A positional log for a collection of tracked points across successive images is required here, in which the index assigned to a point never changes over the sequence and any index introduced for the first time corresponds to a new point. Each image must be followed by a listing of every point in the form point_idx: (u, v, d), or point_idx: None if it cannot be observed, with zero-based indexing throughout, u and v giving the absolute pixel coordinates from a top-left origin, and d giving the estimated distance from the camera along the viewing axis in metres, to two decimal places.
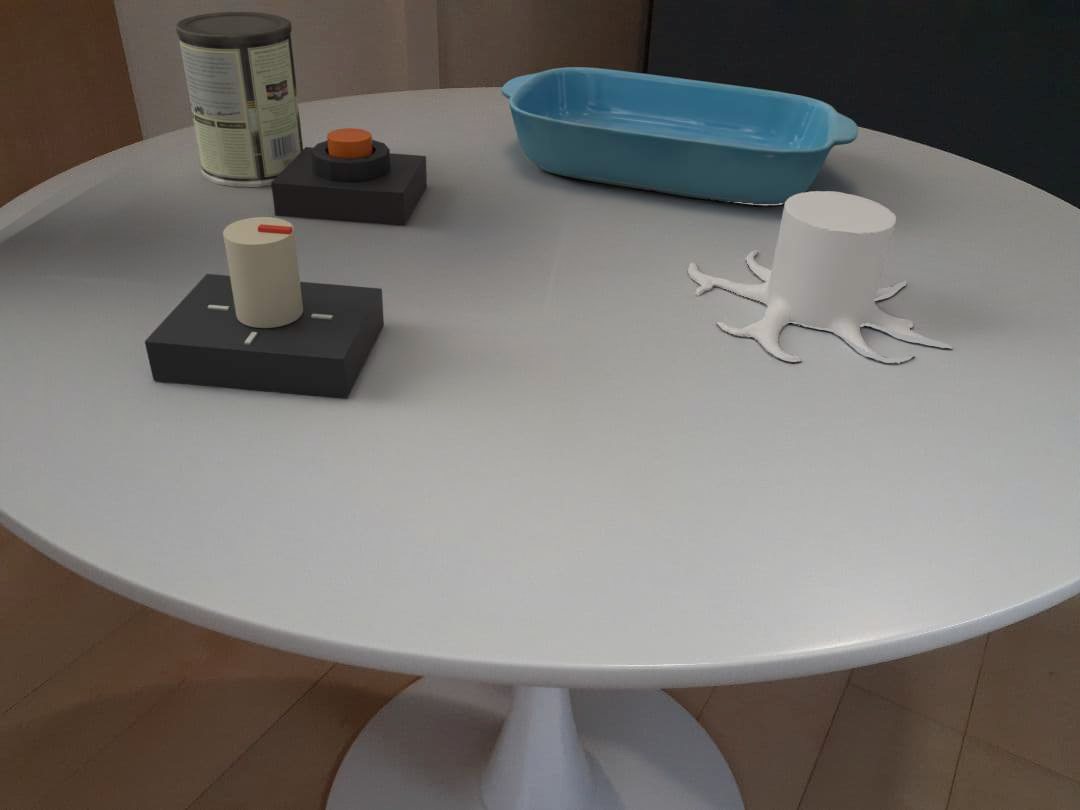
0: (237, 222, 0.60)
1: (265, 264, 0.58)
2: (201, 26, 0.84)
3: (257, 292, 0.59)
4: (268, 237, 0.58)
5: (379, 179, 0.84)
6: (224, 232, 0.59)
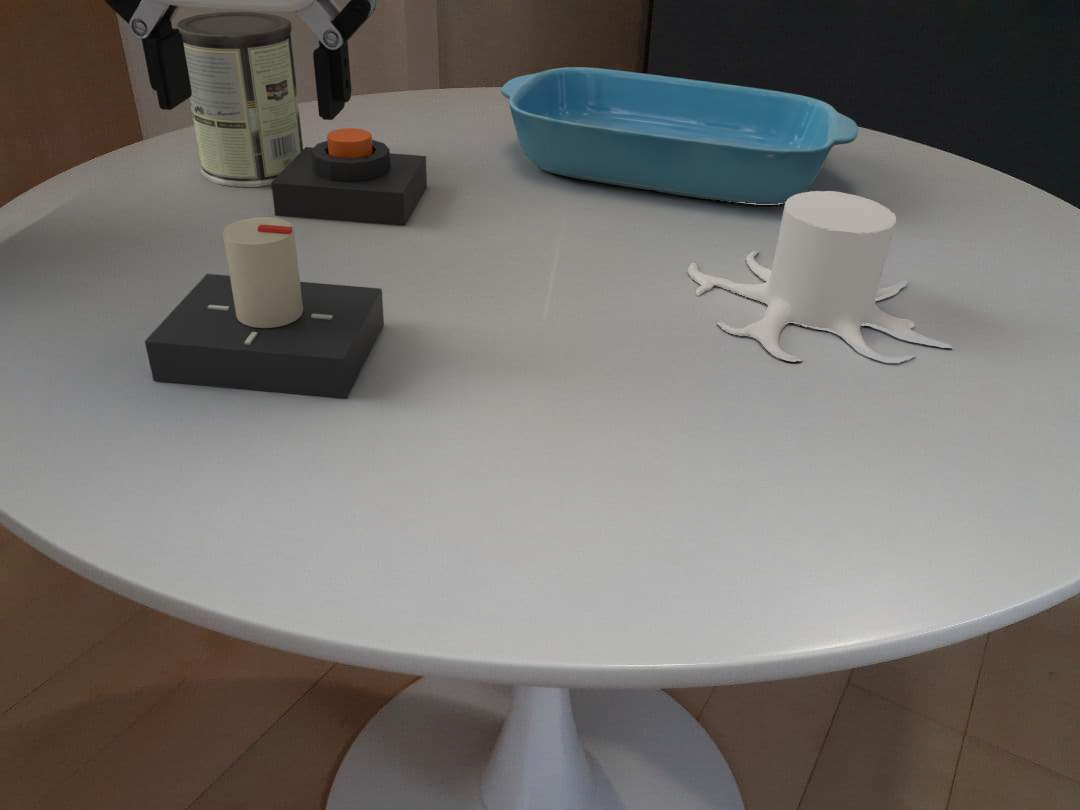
0: (237, 222, 0.60)
1: (265, 264, 0.58)
2: (201, 26, 0.85)
3: (257, 292, 0.59)
4: (268, 237, 0.58)
5: (379, 179, 0.84)
6: (224, 232, 0.59)
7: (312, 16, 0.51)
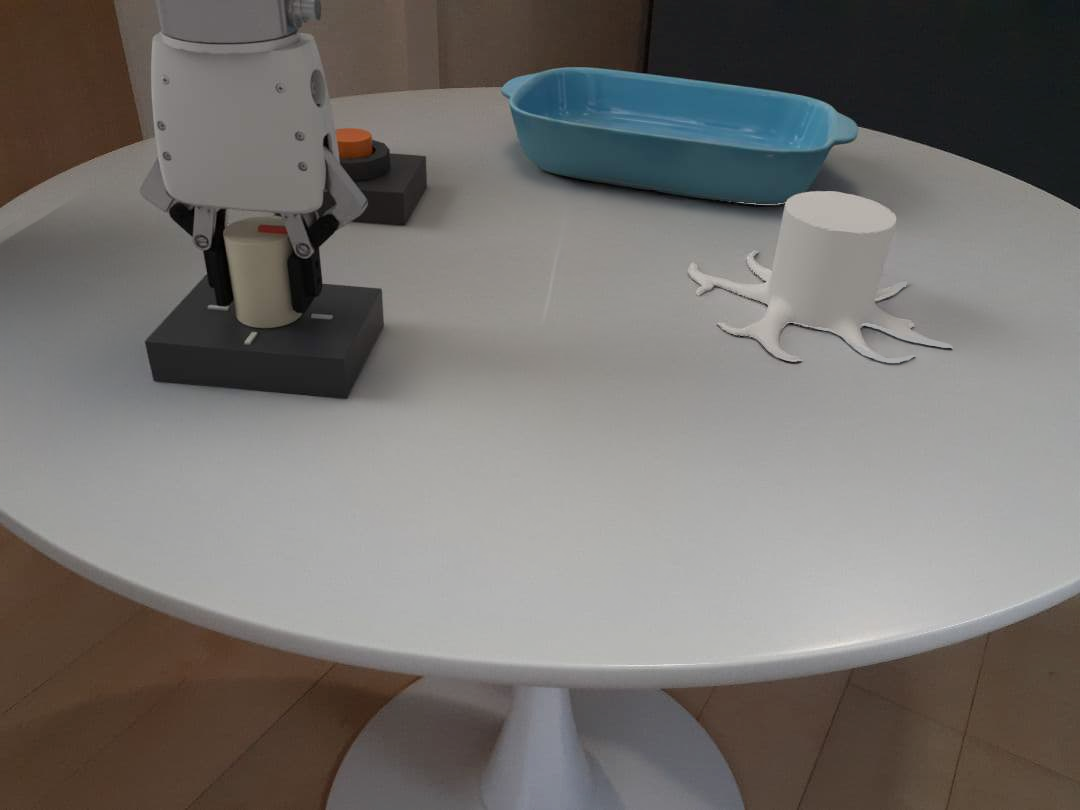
0: (237, 222, 0.60)
1: (265, 264, 0.58)
2: None
3: (257, 292, 0.59)
4: (268, 237, 0.58)
5: (379, 179, 0.84)
6: (224, 232, 0.59)
7: (295, 228, 0.57)
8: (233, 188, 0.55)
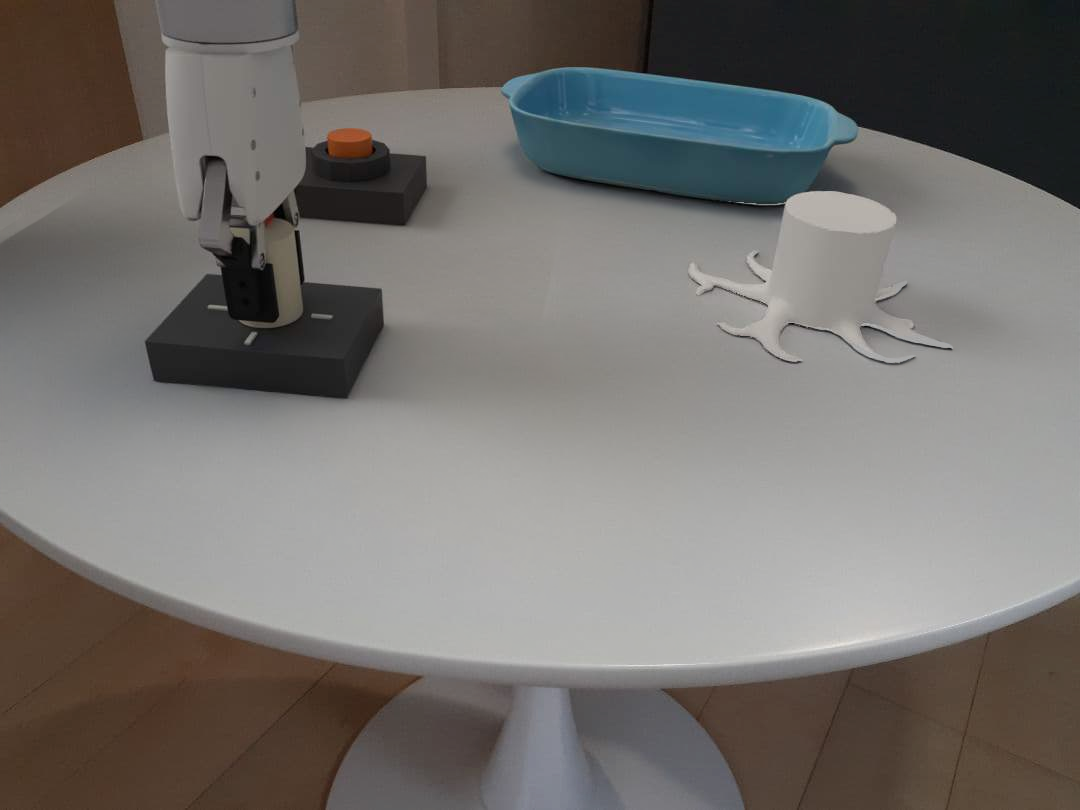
0: None
1: None
2: None
3: (298, 277, 0.61)
4: (279, 225, 0.60)
5: (379, 179, 0.84)
6: None
7: (292, 201, 0.61)
8: (284, 180, 0.57)
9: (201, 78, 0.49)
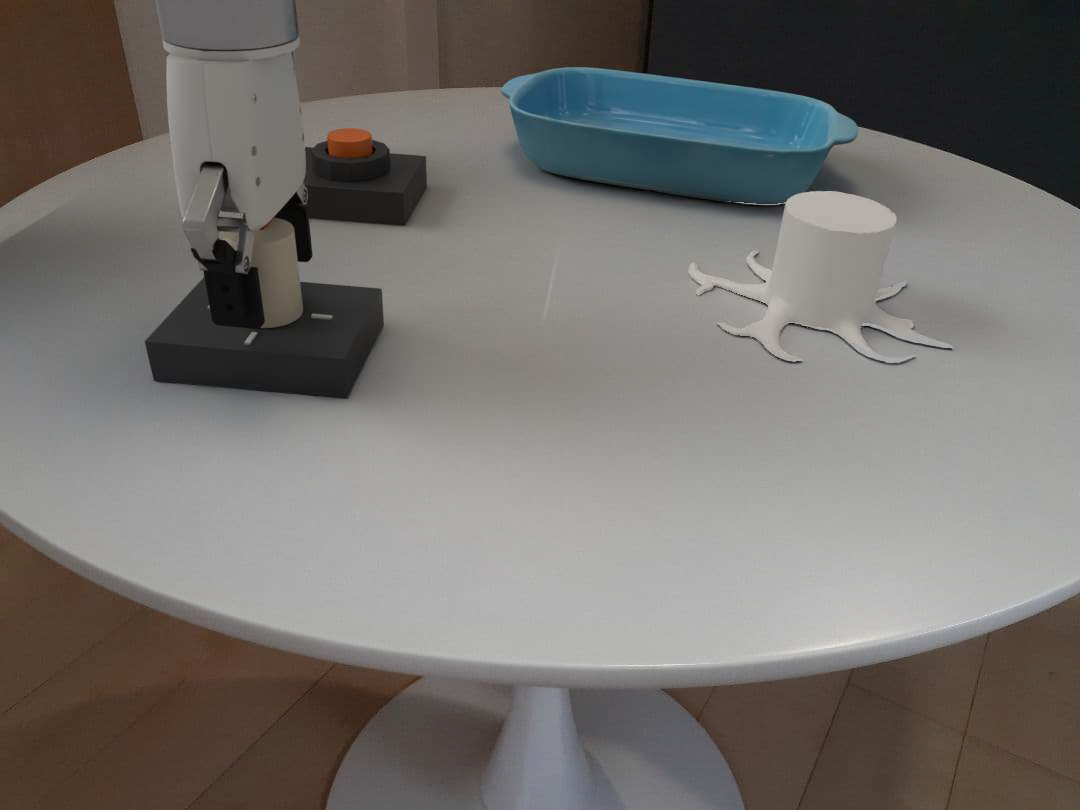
0: (234, 239, 0.58)
1: None
2: None
3: (298, 278, 0.61)
4: (279, 225, 0.60)
5: (379, 179, 0.84)
6: (259, 243, 0.58)
7: None
8: (284, 185, 0.57)
9: (203, 84, 0.50)
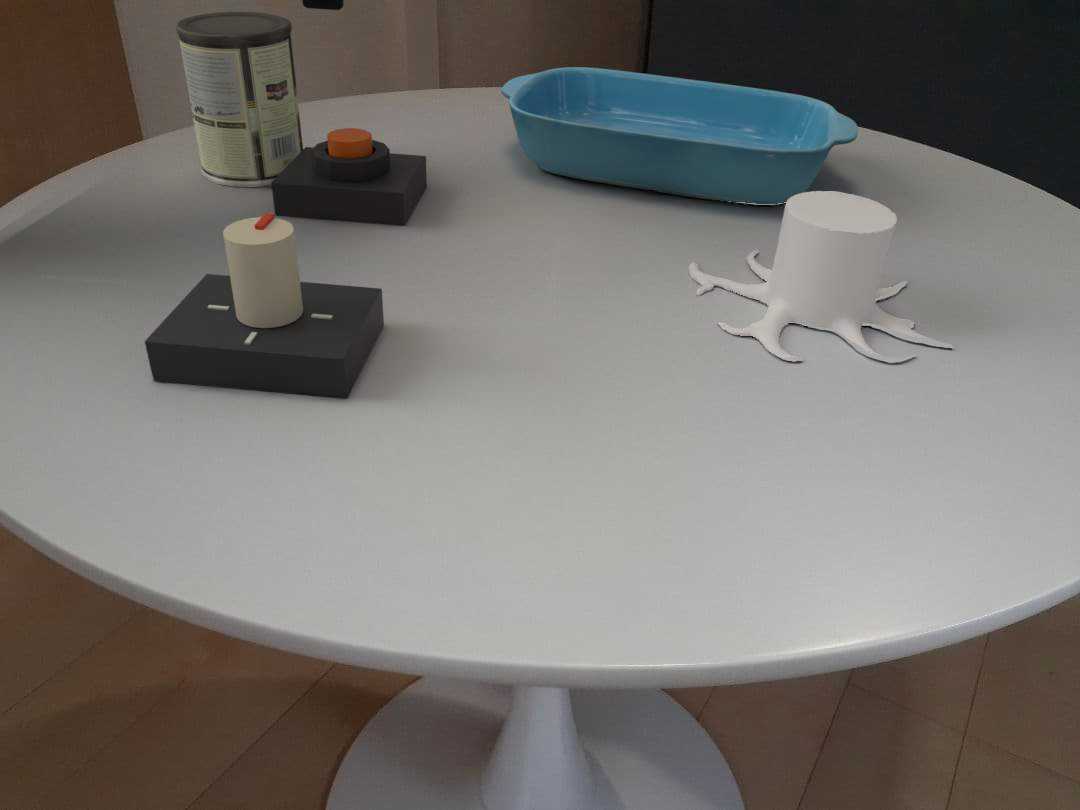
0: (234, 239, 0.58)
1: None
2: (201, 26, 0.84)
3: (298, 278, 0.61)
4: (279, 225, 0.60)
5: (379, 179, 0.84)
6: (259, 243, 0.58)
7: None
8: None
9: None
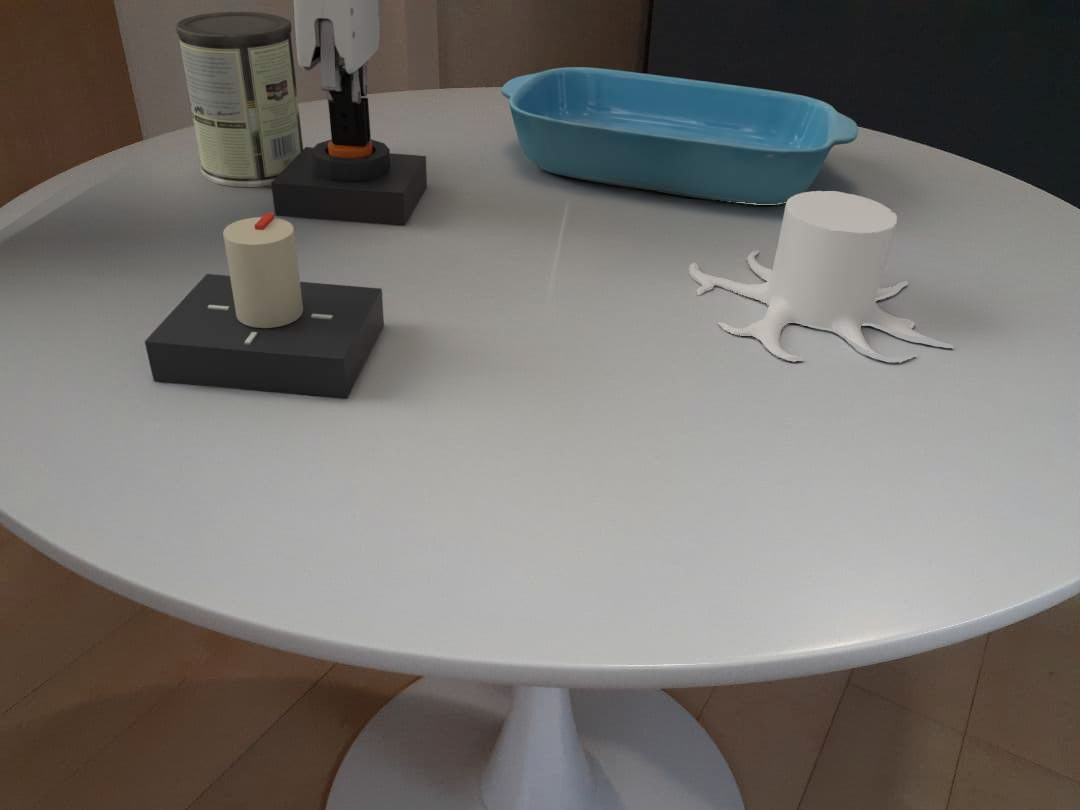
0: (234, 239, 0.58)
1: None
2: (201, 26, 0.85)
3: (298, 278, 0.61)
4: (279, 225, 0.60)
5: (379, 179, 0.84)
6: (259, 243, 0.58)
7: (365, 72, 0.82)
8: (368, 45, 0.79)
9: None
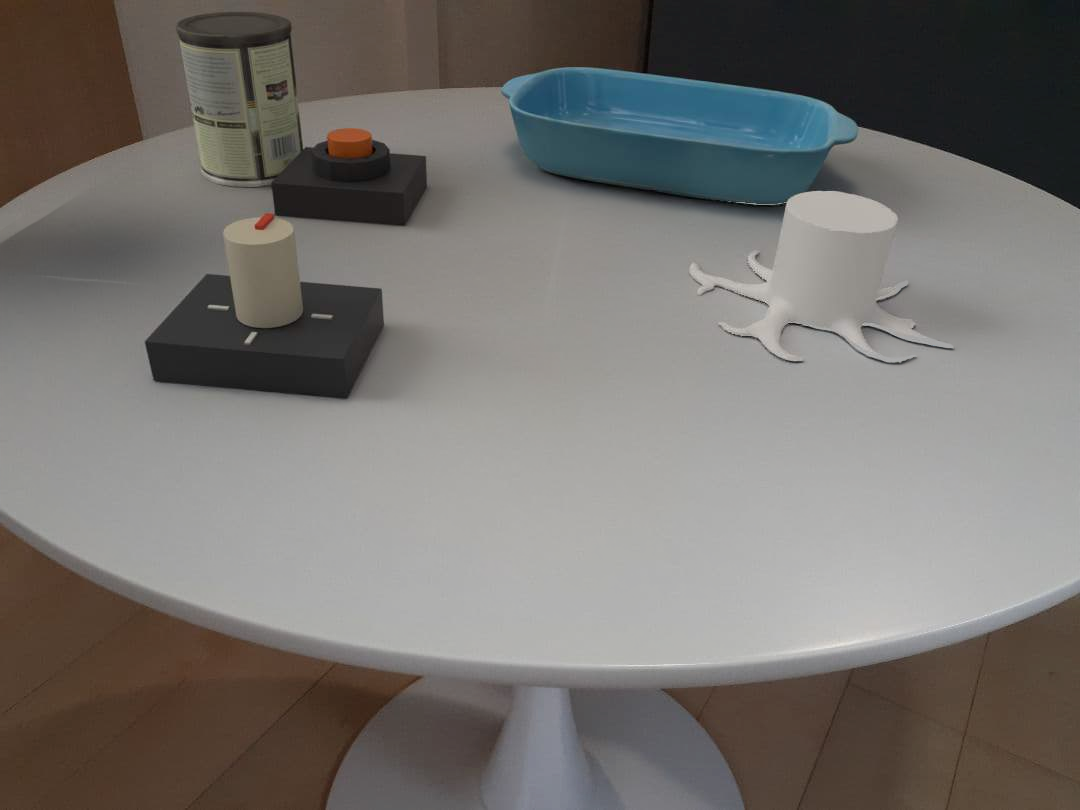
0: (234, 239, 0.58)
1: None
2: (201, 26, 0.85)
3: (298, 278, 0.61)
4: (279, 225, 0.60)
5: (379, 179, 0.84)
6: (259, 243, 0.58)
7: None
8: None
9: None
